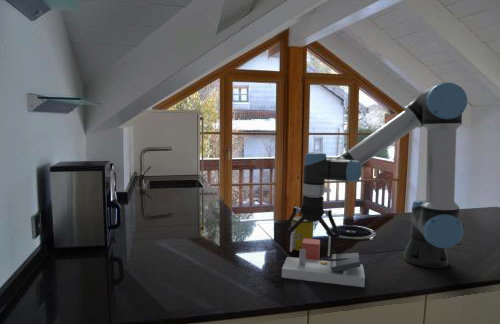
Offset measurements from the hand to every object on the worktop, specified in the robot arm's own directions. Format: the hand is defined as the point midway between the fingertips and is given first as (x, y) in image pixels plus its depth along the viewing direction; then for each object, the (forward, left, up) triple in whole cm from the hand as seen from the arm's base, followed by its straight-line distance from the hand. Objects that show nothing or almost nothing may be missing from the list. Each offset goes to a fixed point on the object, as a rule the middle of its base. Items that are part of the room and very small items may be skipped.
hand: (309, 252), depth 139 cm
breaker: (-12, +14, +2) cm, 19 cm away
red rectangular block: (0, 0, -4) cm, 4 cm away
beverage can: (+5, -17, -4) cm, 18 cm away
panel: (-5, +11, -4) cm, 13 cm away
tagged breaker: (-12, +8, +2) cm, 15 cm away
